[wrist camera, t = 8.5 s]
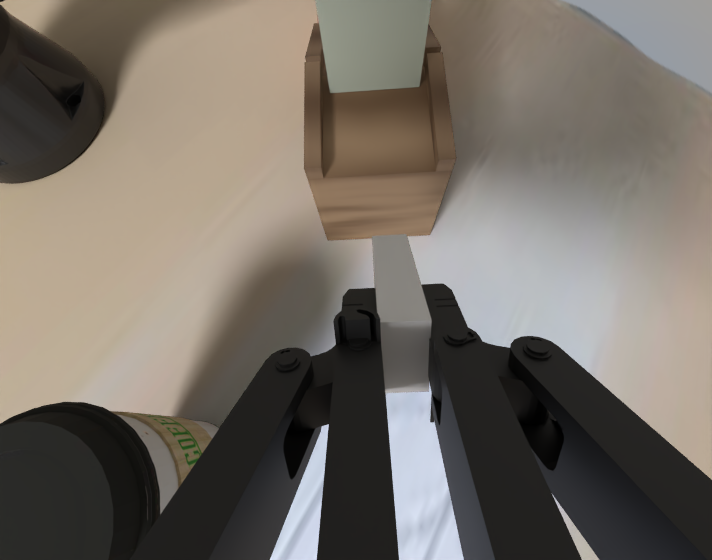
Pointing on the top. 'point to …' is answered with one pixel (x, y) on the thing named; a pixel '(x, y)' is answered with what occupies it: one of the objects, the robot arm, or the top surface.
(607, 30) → the top surface
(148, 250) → the top surface
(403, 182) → the launcher
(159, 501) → the coffee cup
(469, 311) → the top surface
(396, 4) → the pale green block
